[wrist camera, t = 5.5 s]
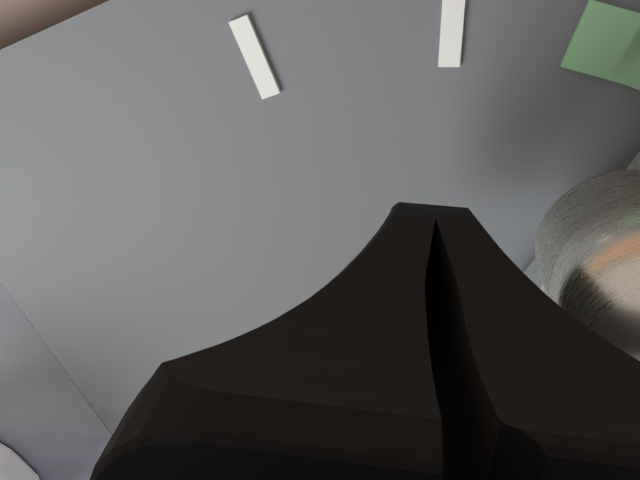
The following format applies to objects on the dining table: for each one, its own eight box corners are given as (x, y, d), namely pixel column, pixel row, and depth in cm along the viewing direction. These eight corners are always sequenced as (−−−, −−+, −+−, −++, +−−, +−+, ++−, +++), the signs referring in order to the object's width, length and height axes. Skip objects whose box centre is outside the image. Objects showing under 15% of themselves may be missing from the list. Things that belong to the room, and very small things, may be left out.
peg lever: (451, 519, 18) (457, 698, 14) (323, 467, 17) (294, 635, 13) (880, 53, 10) (1156, 158, 6) (669, -53, 10) (825, -11, 6)
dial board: (869, 554, 18) (905, 607, 17) (270, 600, 25) (261, 642, 23) (886, -350, 9) (968, -390, 8) (-82, 88, 15) (-132, 109, 14)
